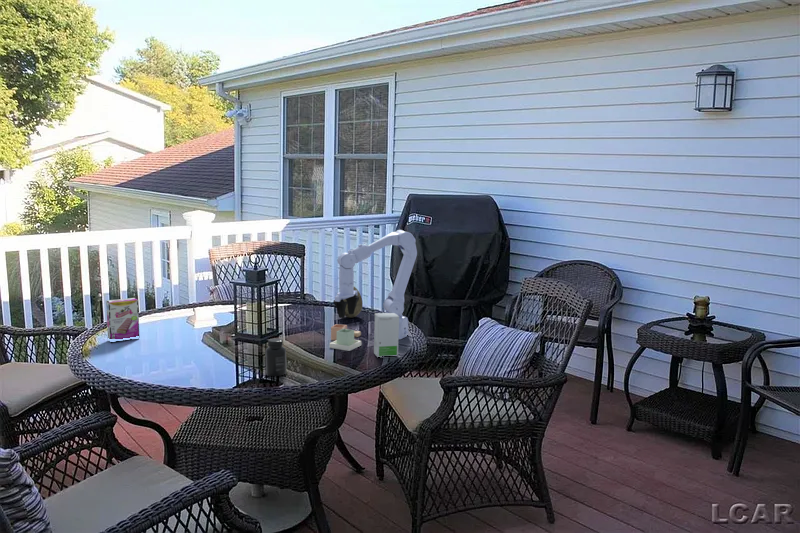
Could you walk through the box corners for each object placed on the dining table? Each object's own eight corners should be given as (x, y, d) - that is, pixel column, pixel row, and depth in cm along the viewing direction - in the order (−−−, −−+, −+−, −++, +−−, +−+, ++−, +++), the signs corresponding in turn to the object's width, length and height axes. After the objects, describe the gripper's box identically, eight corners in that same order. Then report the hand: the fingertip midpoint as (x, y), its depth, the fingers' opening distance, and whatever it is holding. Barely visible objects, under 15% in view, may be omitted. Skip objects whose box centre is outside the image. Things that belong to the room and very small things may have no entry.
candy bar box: (110, 343, 255) (108, 302, 252) (107, 340, 259) (105, 300, 256) (140, 339, 261) (138, 299, 259) (137, 336, 265) (135, 297, 263)
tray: (361, 345, 258) (361, 340, 257) (349, 351, 250) (349, 346, 250) (341, 342, 262) (341, 337, 261) (329, 347, 254) (329, 343, 254)
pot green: (354, 343, 257) (354, 330, 256) (347, 346, 252) (347, 333, 252) (343, 342, 259) (343, 328, 258) (336, 345, 255) (336, 331, 254)
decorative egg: (346, 313, 310) (346, 282, 308) (366, 316, 305) (366, 284, 303) (334, 318, 301) (334, 286, 298) (355, 321, 296) (355, 288, 293)
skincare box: (377, 358, 241) (377, 317, 239) (373, 353, 248) (373, 313, 245) (399, 356, 244) (399, 316, 241) (394, 351, 250) (395, 312, 247)
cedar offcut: (360, 336, 272) (360, 331, 272) (357, 337, 270) (357, 333, 269) (348, 334, 275) (348, 329, 274) (344, 336, 272) (344, 331, 272)
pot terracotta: (347, 338, 268) (347, 325, 267) (342, 341, 263) (342, 328, 262) (335, 337, 269) (335, 324, 269) (331, 340, 265) (331, 327, 264)
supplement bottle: (287, 370, 225) (287, 337, 223) (284, 377, 219) (284, 342, 217) (267, 370, 225) (267, 337, 223) (264, 377, 218) (263, 342, 216)
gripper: (347, 279, 270) (347, 311, 272) (328, 284, 257) (328, 318, 259) (361, 280, 267) (361, 313, 269) (343, 286, 254) (343, 320, 256)
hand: (346, 315), depth 264 cm, fingers open, 7 cm apart
